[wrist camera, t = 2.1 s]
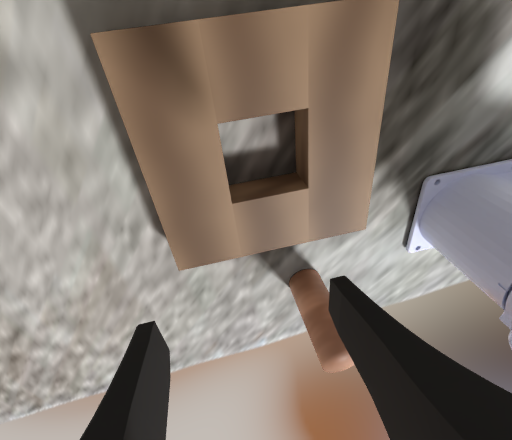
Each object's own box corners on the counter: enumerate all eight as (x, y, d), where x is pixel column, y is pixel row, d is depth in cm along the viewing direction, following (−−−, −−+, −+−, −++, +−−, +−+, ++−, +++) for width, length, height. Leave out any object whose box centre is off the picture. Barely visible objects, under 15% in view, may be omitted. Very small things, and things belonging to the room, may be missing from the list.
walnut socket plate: (372, -4, 15) (400, -8, 13) (350, 211, 24) (365, 229, 22) (103, 32, 14) (90, 33, 12) (179, 248, 22) (178, 270, 20)
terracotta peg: (319, 265, 26) (363, 344, 20) (318, 287, 28) (359, 366, 22) (288, 273, 26) (322, 355, 20) (289, 294, 28) (321, 376, 21)
